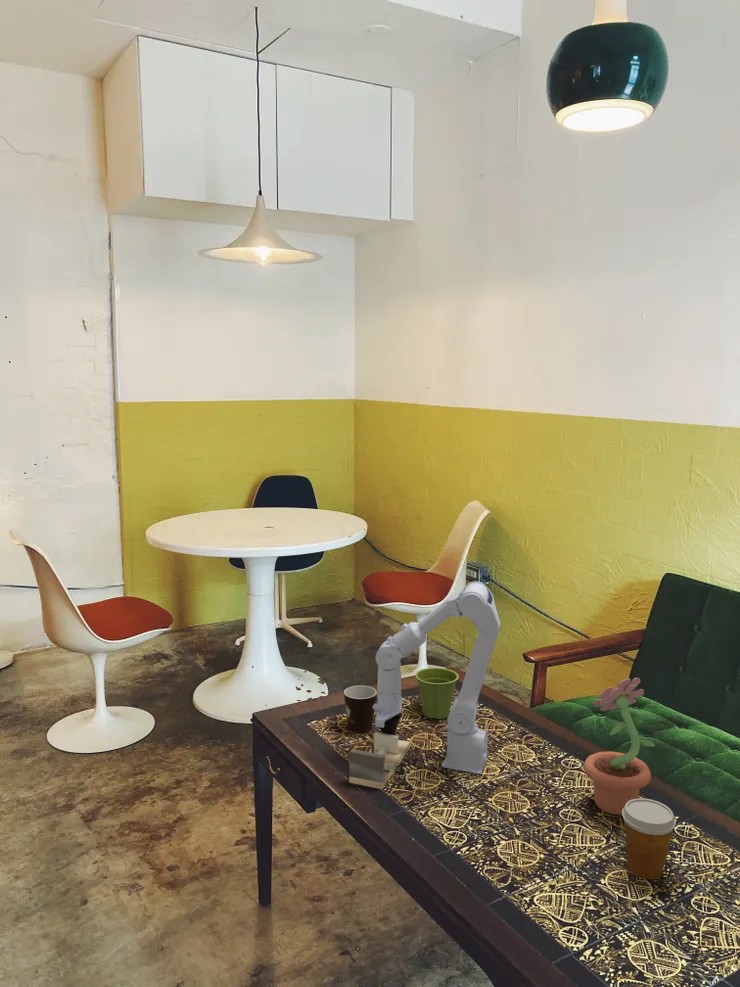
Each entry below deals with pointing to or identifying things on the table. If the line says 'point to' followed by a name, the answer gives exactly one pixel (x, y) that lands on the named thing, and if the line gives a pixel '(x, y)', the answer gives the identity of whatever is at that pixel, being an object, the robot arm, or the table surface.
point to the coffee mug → (360, 708)
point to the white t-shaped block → (385, 743)
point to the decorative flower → (618, 755)
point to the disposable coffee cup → (647, 836)
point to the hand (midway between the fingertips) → (388, 742)
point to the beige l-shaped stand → (374, 765)
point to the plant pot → (436, 691)
